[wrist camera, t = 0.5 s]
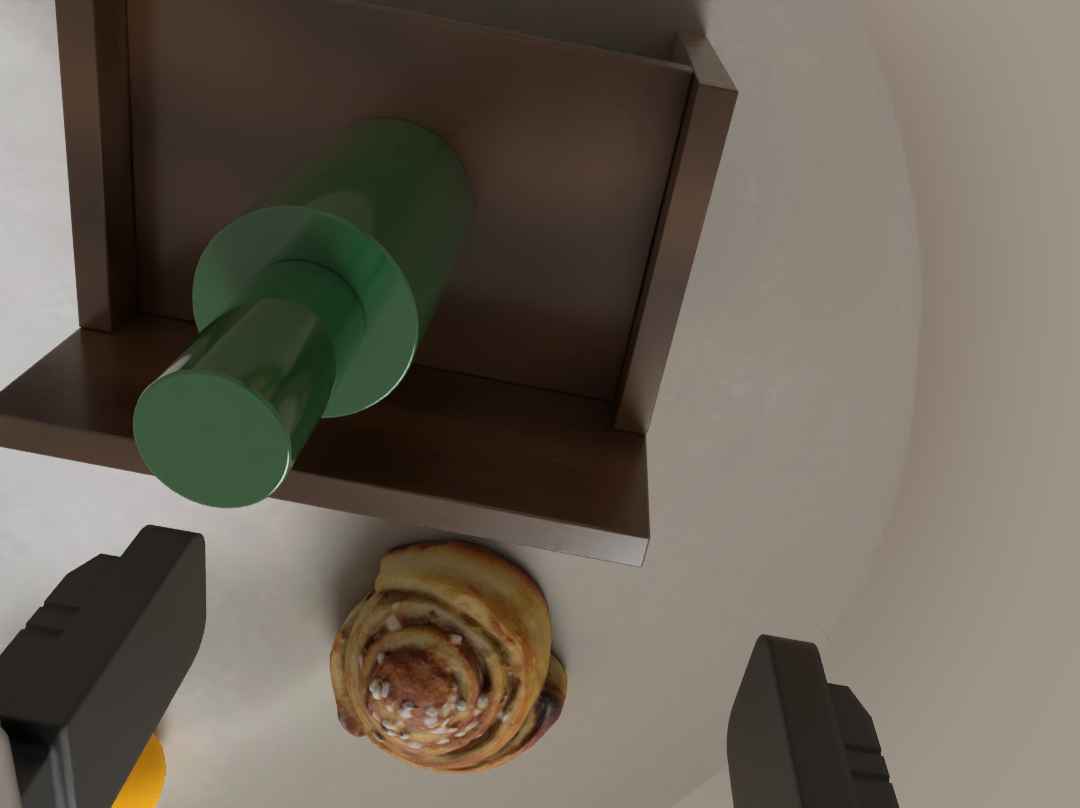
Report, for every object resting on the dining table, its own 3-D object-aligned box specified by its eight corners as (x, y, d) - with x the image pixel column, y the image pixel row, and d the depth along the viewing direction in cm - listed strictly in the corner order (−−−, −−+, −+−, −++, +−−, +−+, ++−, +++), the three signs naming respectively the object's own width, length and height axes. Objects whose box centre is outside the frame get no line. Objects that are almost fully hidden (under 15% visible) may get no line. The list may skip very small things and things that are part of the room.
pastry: (506, 514, 50) (487, 615, 43) (599, 709, 56) (595, 825, 49) (290, 573, 53) (240, 676, 46) (401, 752, 60) (371, 866, 52)
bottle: (314, 101, 31) (51, 277, 17) (486, 135, 31) (369, 338, 17) (305, 264, 33) (74, 533, 19) (463, 294, 33) (346, 584, 19)
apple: (164, 689, 58) (106, 790, 52) (195, 777, 62) (145, 881, 56) (44, 689, 59) (-29, 788, 53) (82, 775, 63) (19, 878, 56)
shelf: (210, -62, 38) (-87, -29, 22) (707, 36, 38) (766, 138, 22) (210, 247, 44) (-21, 444, 28) (635, 328, 44) (641, 568, 29)
